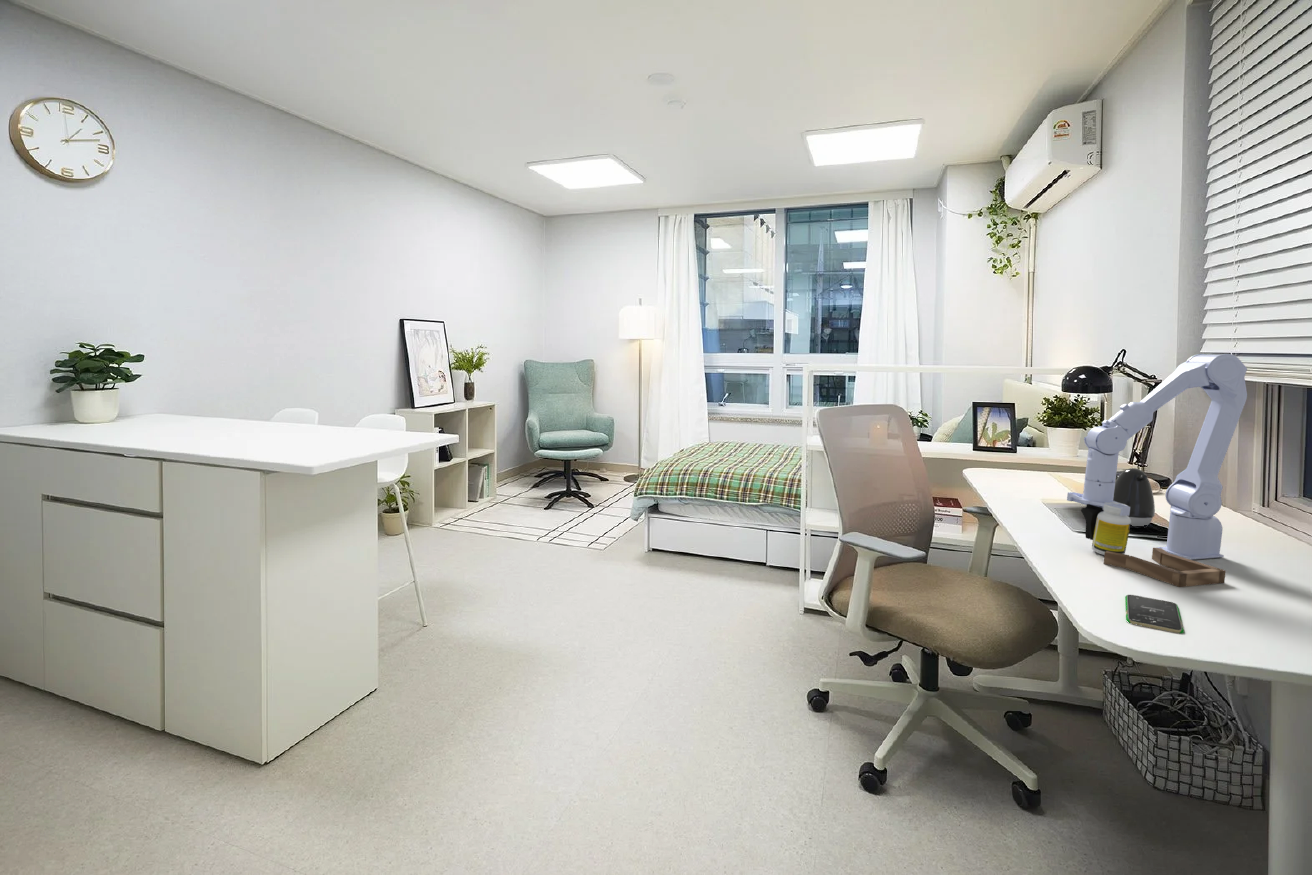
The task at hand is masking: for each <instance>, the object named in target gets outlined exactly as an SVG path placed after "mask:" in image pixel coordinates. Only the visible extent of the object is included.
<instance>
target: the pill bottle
mask: <svg viewBox="0 0 1312 875" xmlns="http://www.w3.org/2000/svg"><path fill="white" fill-rule="evenodd" d="M1105 503H1106V502H1105ZM1111 503H1114V504H1119V503H1117V502H1110V503H1106V504H1111ZM1106 504H1104V507H1103V510H1104V511H1102V512H1100V513H1099V514H1098V516H1097V520H1096V526H1095V531H1094V537H1093V540H1092V543H1091V544H1092V545H1091V549H1092V550H1093V551H1094V552H1095V553H1097V554H1100V555H1102V556H1104V555H1105V552H1106V551H1110V552H1115V553H1120V554H1126V551H1127V546H1128V539H1129V535H1130V525H1131V519H1130V518H1129V517H1128V516H1121V515H1120V514H1121V509H1120V508H1117V507H1114V506H1110V505H1106ZM1120 504H1121V503H1120ZM1123 505H1125V504H1123ZM1121 506H1122V505H1121ZM1125 506H1127V505H1125Z"/></svg>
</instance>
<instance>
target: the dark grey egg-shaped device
mask: <svg viewBox="0 0 1312 875" xmlns="http://www.w3.org/2000/svg"><path fill="white" fill-rule="evenodd" d="M1113 501H1115V502H1118V503H1121V504H1125V505H1127V506H1129V507H1130V514H1129V516H1128V517H1129V518H1130V519H1131V525H1132V526H1144V525H1147V526H1148V525H1149V524H1151V522H1152V520H1153V519H1154V517H1155V515H1156V509H1155V508H1156V505H1155V497H1154V492H1153V489H1152V485H1151V482H1150V479H1149V478H1148V475H1147V474H1146V473H1145V472H1144V471H1143V470H1141V469H1139V468H1135V467H1132V468H1126V469H1125V470H1123V471H1122V472H1121V473H1120V474H1119V475H1118V476H1117V477H1116V480H1115V489H1114V497H1113Z"/></svg>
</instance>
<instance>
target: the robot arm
mask: <svg viewBox="0 0 1312 875" xmlns="http://www.w3.org/2000/svg"><path fill="white" fill-rule="evenodd" d="M1247 371H1248V367H1247V366H1246V365H1245V364H1244V363H1243V362H1242V360H1241V359H1240V358H1239V357H1238V356H1236V355H1235V354H1230V353H1223V354H1207V353H1206V354H1205V353H1198V354H1194V355H1192V356H1189V358H1188V359H1187V360H1186V361H1185V362H1182V363H1180V364H1178V366H1177V367H1176V368H1175V370H1174V371H1173V372H1172V373H1170V375H1169V376H1168V377H1166V378H1165V379H1164V380H1162V382H1161V383H1159V384H1158V385H1157V386H1156V387H1155V388H1153V390H1151V391H1150V392H1149V393H1148V394H1147V395H1146V396H1145V397H1144V398H1142V399H1141V400H1140V401H1139V402H1138V401H1131V402H1129V403H1123V404H1122V405H1120V406H1119V409H1120V410H1118V411H1117V412H1115V414H1114V415H1113V416H1111V417H1110V418H1109V419H1104V420H1103V421H1102V422H1101V424H1102V425H1099V426H1095V427H1093V428H1091V429H1090V430H1089V431H1088V432H1087V435H1086V436H1085V437H1084V438H1083V441H1084V446H1086V447H1087V449H1088V452H1087V458H1086V466H1085V473H1084V482H1083V483H1084V484H1083V493H1079V492H1074V491H1073V492H1067V497H1066V501H1067V502H1075V503H1077V504H1081V505H1085V507H1081V508H1080V511H1081V513H1082V515H1083V517H1084V519H1085V533H1084V534H1085V538H1086V539H1088V540H1091V541H1093V537H1094V531H1095V526H1096V520H1097V516H1098V514H1099V513H1100V512H1102V511H1104V510H1103V507H1104V504H1106V503H1110V502H1115V501H1113V497H1114V489H1115V481H1116V480H1117V472H1118V465H1119V464H1118V462H1119V456H1120V455H1119V454H1120V452H1122V451H1124V450H1125V448H1126V446H1127V442H1128V440H1130V439H1131V438H1132V437H1133V436H1135V435H1136V434H1137V433H1138V432H1140V431H1141V430H1142V429H1144V428H1145V427H1146V426H1147V425H1148V424H1150V423H1152V422H1153V420H1154V419H1153V418H1154V413H1155V412H1156V411H1158V410H1159V409H1161V408H1162V407H1163V406H1165V405H1166V404H1168V403H1170V401H1172V400H1173V399H1174V398H1176V397H1177V396H1179V395H1180V394H1181V393H1183V392H1185V390H1188V389H1193V388H1201V389H1202V390H1203V391H1204V392H1205V394H1207V396H1208V397H1209V398H1210V400H1211V401H1210V404H1209V407H1208V410H1207V412H1206V414H1205V418H1204V420H1203V423H1202V426H1201V429H1200V432H1199V434H1198V436H1197V439H1196V442H1195V445H1194V447H1193V450H1192V453H1191V456H1190V458H1189V461H1188V463H1187V466H1186V468H1185V469H1184V470H1183V471H1181V472H1179V473H1177V475H1176V476H1175V479H1174V482H1172V483H1171V484H1170V485H1169V486H1168V488H1167V489H1166V491H1165V497H1164V498H1165V500H1166V502H1167V504H1168V505H1170V509H1169V510H1170V511H1169V522H1168V528H1167V541H1166V546H1156V547H1155V548H1162V549H1163V550H1165V551H1166V552H1168V553H1170V554H1173V555H1176V556H1180V557H1183V558H1186V559H1190V560H1193V561H1194V560H1205V559H1206V560H1207V559H1216V558H1224V554H1221V546H1222V536H1223V525H1222V522H1221V521H1220V519H1219V518H1217V517H1216V516H1215V515H1217V513H1218V512H1220V510H1221V508H1222V504H1223V502H1222V497H1221V496H1222V491H1223V490H1224V489H1223V484H1222V482H1221V481H1220V479H1219V477H1218V476H1219V474H1220V473H1219V472H1220V471H1221V468H1222V465H1223V463H1224V460H1225V457H1226V455H1227V452H1228V450H1229V446H1230V444H1231V441H1232V438H1233V436H1234V434H1235V430H1236V428H1237V426H1238V422H1239V421H1240V417H1241V415H1242V413H1243V410H1244V407H1245V404H1246V402H1247V398H1248V392H1247V390H1248V389H1247V386H1246V385H1247V384H1246V379H1245V376H1246V374H1247ZM1105 502H1106V503H1105ZM1117 503H1118V502H1117ZM1106 505H1110V506H1114V507H1117V508H1120V509H1121V514H1120V515H1121V516H1129V514H1130V507H1129V506H1125V505H1123V504H1120V503H1119V504H1114V503H1111V504H1106ZM1121 505H1122V506H1121Z"/></svg>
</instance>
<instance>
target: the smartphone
mask: <svg viewBox="0 0 1312 875" xmlns="http://www.w3.org/2000/svg"><path fill="white" fill-rule="evenodd" d="M1124 597H1125V621H1126V620H1127V621H1128V622H1129V623H1132V624H1131V625H1134V624H1137V625H1136V626H1138V625H1142V626H1141V627H1144V626H1145V627H1144V628H1149V627H1150V628H1149V629H1154V630H1159V629H1161V631H1164V630H1166V631H1165V632H1169V631H1170V632H1169V633H1176V634H1184V633H1185V629H1184V626H1183V624H1182V616H1181V612H1180V609H1179V606H1178V604H1177V603H1175V602H1172V601H1169V600H1162V599H1156V598H1151V597H1145V596H1141V595H1135V594H1127V595H1125V596H1124ZM1127 621H1126V622H1127ZM1128 622H1127V623H1128ZM1129 623H1128V624H1129Z"/></svg>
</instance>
